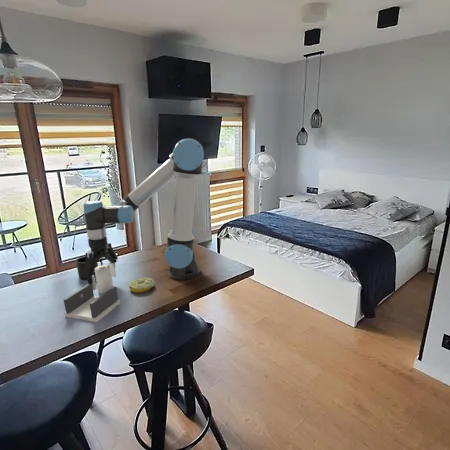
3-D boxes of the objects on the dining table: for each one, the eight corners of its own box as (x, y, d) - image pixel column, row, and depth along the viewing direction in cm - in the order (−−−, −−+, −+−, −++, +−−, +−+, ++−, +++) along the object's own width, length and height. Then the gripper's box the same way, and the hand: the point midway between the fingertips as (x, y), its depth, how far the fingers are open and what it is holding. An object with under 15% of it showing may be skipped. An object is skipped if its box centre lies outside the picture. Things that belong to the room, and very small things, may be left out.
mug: (107, 274, 158) (104, 257, 156) (82, 281, 151) (78, 264, 148) (101, 268, 165) (98, 252, 163) (76, 275, 158) (73, 258, 156)
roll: (116, 288, 143) (112, 265, 140) (107, 294, 138) (103, 271, 134) (104, 286, 145) (101, 263, 142) (95, 293, 140) (91, 269, 136)
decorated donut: (158, 287, 143) (158, 280, 142) (138, 297, 135) (137, 289, 134) (145, 281, 149) (144, 273, 148) (125, 289, 142) (124, 282, 141)
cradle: (120, 303, 130) (117, 286, 128) (97, 322, 117) (93, 304, 115) (90, 298, 135) (87, 282, 133) (65, 316, 122) (61, 299, 120)
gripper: (108, 228, 147) (113, 270, 153) (68, 246, 124) (76, 294, 130) (122, 229, 145) (127, 271, 151) (83, 247, 122) (91, 296, 128)
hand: (103, 282), depth 140 cm, fingers open, 13 cm apart
